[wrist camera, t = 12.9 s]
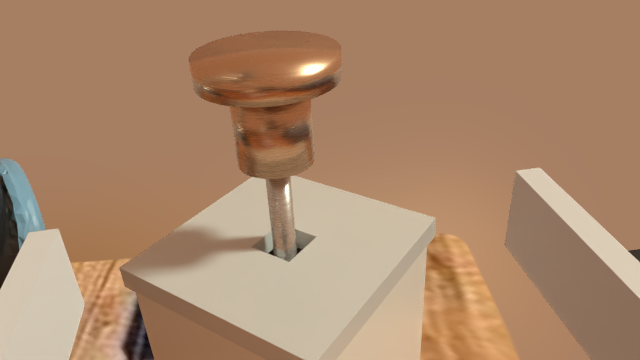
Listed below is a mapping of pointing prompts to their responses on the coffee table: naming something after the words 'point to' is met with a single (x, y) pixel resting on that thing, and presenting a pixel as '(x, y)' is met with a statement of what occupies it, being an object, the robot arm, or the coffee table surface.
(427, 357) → the coffee table surface
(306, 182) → the press
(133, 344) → the coffee table surface
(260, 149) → the plunger
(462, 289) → the coffee table surface
